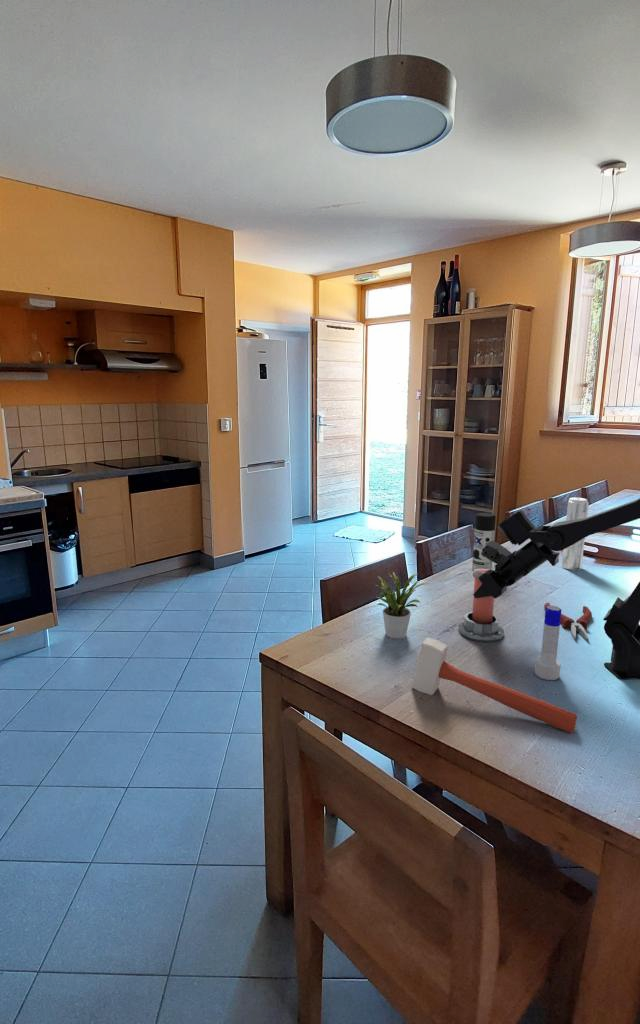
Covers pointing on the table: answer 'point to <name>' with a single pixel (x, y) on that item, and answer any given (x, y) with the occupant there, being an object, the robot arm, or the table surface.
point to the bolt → (549, 646)
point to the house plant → (397, 607)
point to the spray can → (483, 539)
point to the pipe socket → (481, 629)
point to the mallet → (483, 687)
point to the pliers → (579, 624)
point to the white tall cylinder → (575, 552)
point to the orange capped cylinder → (482, 601)
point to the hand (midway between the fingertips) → (478, 593)
